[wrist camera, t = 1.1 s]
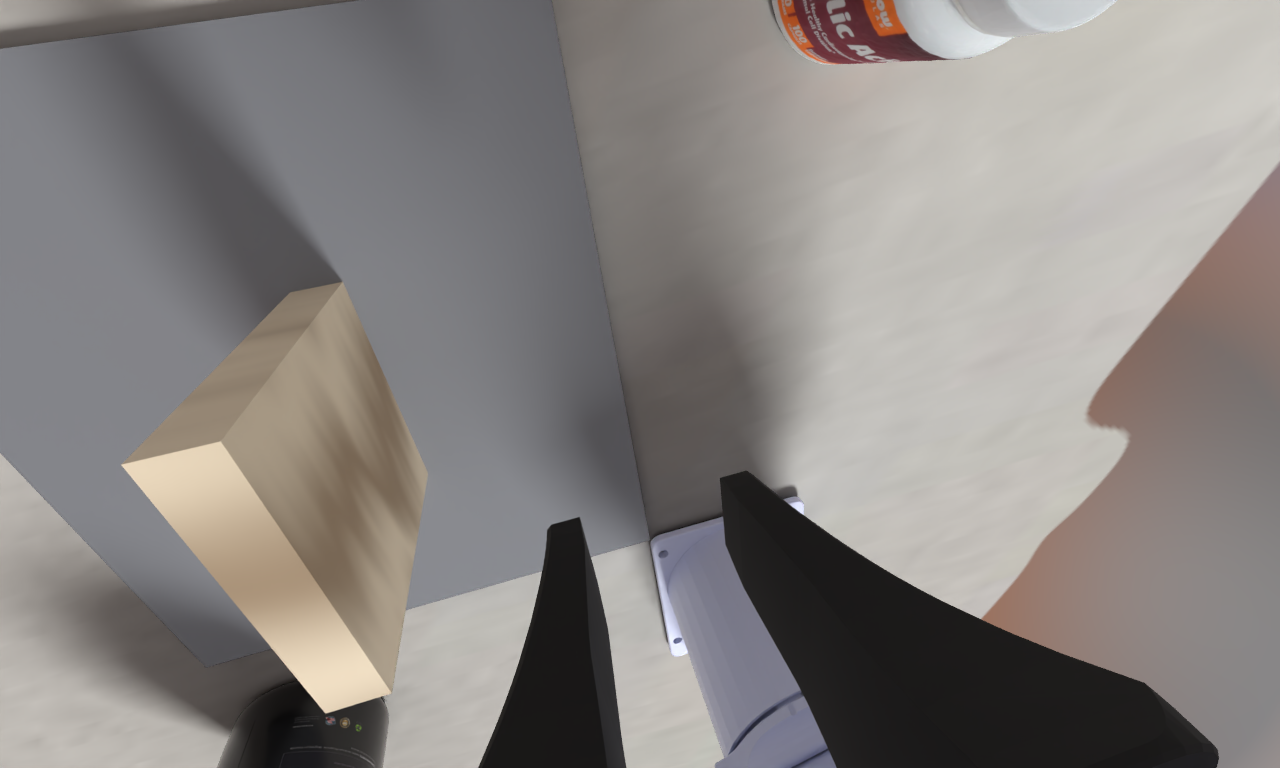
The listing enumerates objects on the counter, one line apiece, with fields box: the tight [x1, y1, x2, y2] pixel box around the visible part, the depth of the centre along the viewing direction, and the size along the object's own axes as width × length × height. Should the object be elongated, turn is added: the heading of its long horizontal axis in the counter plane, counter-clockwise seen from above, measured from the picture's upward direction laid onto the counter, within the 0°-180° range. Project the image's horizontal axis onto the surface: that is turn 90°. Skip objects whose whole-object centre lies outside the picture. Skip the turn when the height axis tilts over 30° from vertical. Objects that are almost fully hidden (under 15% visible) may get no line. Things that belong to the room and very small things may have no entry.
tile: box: [121, 282, 428, 713], centre depth 15 cm, size 8×2×9 cm, turn 8°
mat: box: [0, 0, 650, 667], centre depth 19 cm, size 22×20×1 cm
